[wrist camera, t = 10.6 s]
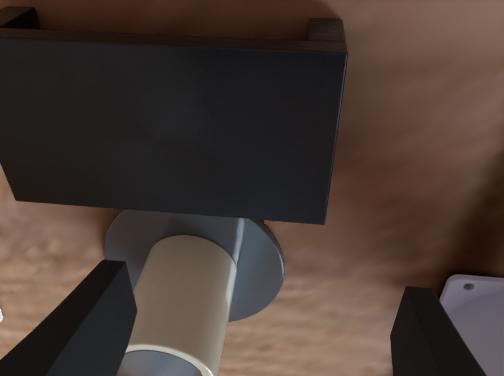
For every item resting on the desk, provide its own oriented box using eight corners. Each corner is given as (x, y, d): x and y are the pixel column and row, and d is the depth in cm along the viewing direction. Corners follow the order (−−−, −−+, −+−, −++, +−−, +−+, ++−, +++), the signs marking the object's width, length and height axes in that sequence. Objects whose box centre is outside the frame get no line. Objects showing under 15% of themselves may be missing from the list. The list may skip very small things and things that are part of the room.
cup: (236, 238, 23) (212, 351, 18) (237, 300, 26) (218, 413, 21) (141, 230, 23) (92, 339, 18) (153, 293, 26) (114, 401, 21)
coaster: (289, 197, 22) (288, 204, 21) (280, 324, 28) (280, 331, 27) (90, 183, 22) (86, 189, 22) (124, 308, 28) (121, 315, 28)
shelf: (342, 18, 16) (348, 53, 13) (323, 174, 20) (324, 225, 18) (5, 5, 17) (-53, 35, 15) (53, 156, 22) (15, 201, 19)
